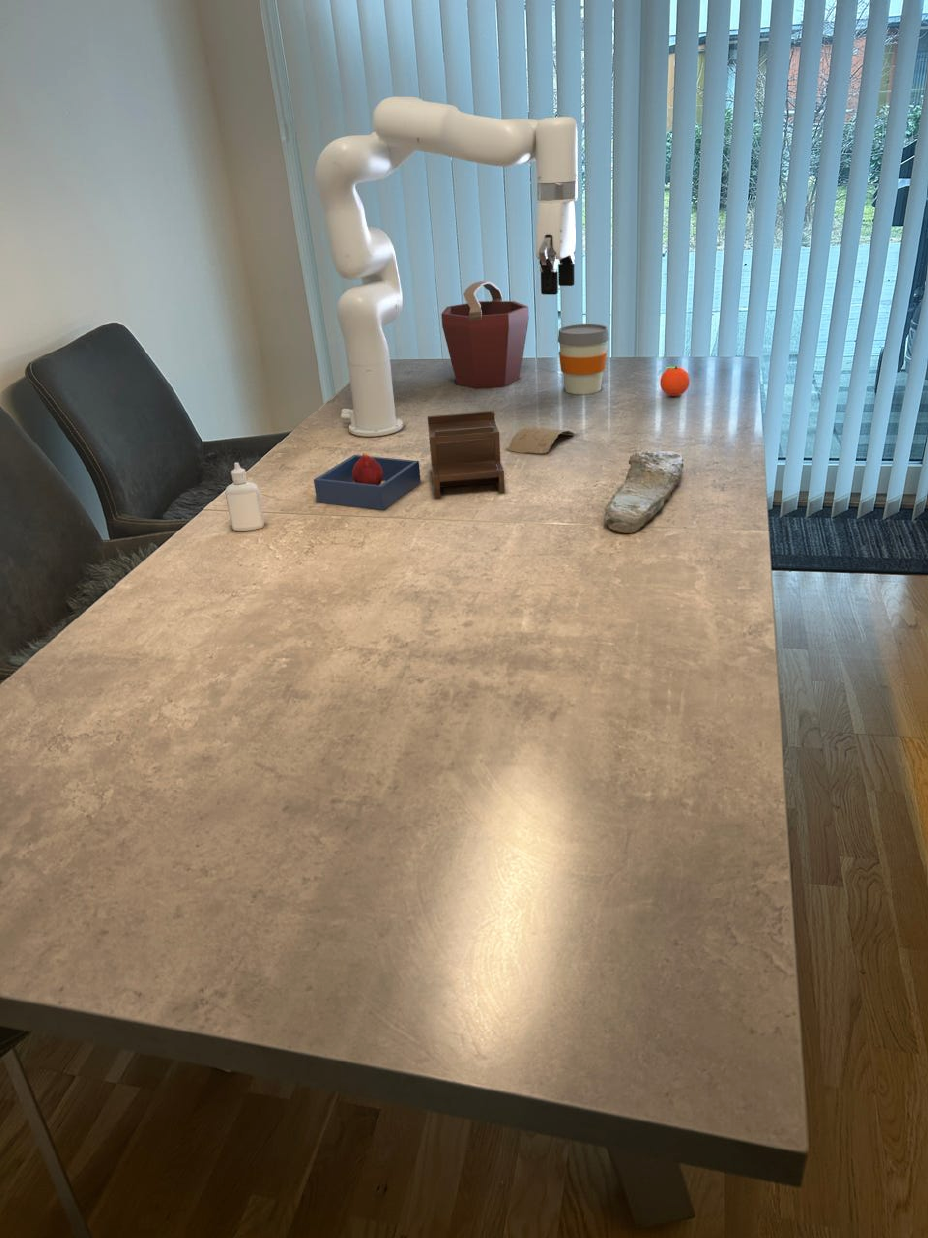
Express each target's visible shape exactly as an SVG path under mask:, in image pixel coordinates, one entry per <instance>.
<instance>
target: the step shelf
mask: <svg viewBox="0 0 928 1238" xmlns="http://www.w3.org/2000/svg"><path fill="white" fill-rule="evenodd" d="M495 417H496V416H495V410H486V411H475V412H472V411H471V412H462V413H450V414H449V413H448V414H437V415H436V414H435V415H428V416H427V426H428V427H427V428H428V437H429V448H430V450H429V451H430V462H431V463H430V464H431V474H432V482H433V490H434V491H433V492H434V499H435V500H440V499H441V498H442V497H441V488H447V487H449V488H451V487H460V486H461V487H463V486H472V485H474V486H475V485H483V484H484V485H485V484H496V486H497V490H498V493H499V494H505V492H506V488H505V485H506V484H505V469H504V467H503V464H502V461H501V444H500V443H501V442H500V441H501V440H500V430H499V428H498V424H497V422H496V419H495Z"/></svg>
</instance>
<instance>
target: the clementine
mask: <svg viewBox="0 0 928 1238" xmlns="http://www.w3.org/2000/svg"><path fill="white" fill-rule="evenodd" d="M665 369H666V370H665ZM663 370H664V371H663ZM662 371H663V373H662V375H661V377H660V382H659V383H660V388H661V390H662V391H663V393H664V394H666V395H667V396H669V397H679V396H682V395H683V394H684V393H686V391H687V390H688V389H689V387H690V382H691V381H690V375H689V373H688V371H687V370H686V369H684V368H683V367H681V366H677V365H675V366H667V367H664V368H663V369H660V370H659V372H658V374H657V376H659V375H660V372H662Z"/></svg>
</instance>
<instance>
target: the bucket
mask: <svg viewBox="0 0 928 1238" xmlns="http://www.w3.org/2000/svg"><path fill="white" fill-rule="evenodd" d="M482 287H484V288H485V289H486V290H487V291H489V293H490V296H491V299H492V300H490V301H489V300H486V301H485V300H484V301H483V300H481V301H479V299H478V297H477V294H478V291H480V289H481V288H482ZM463 298H464V300H465V302H466V303H461V304H455V305H449V306H446V307H445V309H444V310H443V311H442V312H441V313H440V316H441V328H442V331H443V336H444V338H445V342H446V346H447V351H448V355H449V359H450V362H451V366H452V370H453V374H454V377H455V383H456V385H459V386H463V387H468V388H474V389H485V388H495V387H496V388H497V387H506V386H508V385H510V384H512V383H514V382H516V381H518V380H520V375H521V371H522V363H523V357H524V350H525V344H526V340H527V339H526V338H527V332H528V327H529V326H528V324H529V320H530V316H529V314H530V313H529V306H528V305H525V304H522V303H520V302H517V301H515V300H503V294H502V292H501V289H500V287H498V286H497V285H496V284H495V283H493V282H492V281H490V280H485V281H484V280H483V281H482V280H481V281H476V282H474V283H471V284H470V285H469V286H468V287H467V288H465V290H464V292H463Z"/></svg>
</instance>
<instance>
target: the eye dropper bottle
mask: <svg viewBox="0 0 928 1238" xmlns="http://www.w3.org/2000/svg"><path fill="white" fill-rule="evenodd" d="M233 466H234V467H233V469H232V470H231V471H230V474H231V479H232V483H230V484H229V485H228V486H227V487H226V488H225V491H224V493H225V499H226V504H227V510H228V515H229V519H230V523H231V524H230V525H231V528H232V530H233V531H235V532H249V531H250V532H251V531H256V530H259V529H263V528H264V526H265V518H264V512H263V506H262V502H261V496H260V489H259V486H258V485H257V484H256V483H254V482H252V481H248V479H247V473H246V469H245V468H242V467H241V466H240V463H239V462H234V465H233Z"/></svg>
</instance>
